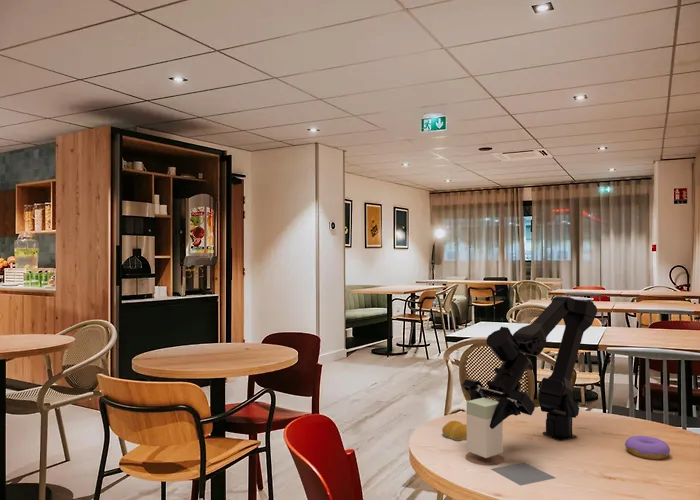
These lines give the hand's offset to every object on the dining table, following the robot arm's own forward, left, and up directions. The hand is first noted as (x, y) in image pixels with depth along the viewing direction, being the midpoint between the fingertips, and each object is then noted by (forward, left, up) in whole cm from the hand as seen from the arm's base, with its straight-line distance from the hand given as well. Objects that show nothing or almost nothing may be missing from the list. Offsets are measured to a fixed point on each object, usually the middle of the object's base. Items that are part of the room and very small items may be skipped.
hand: (480, 424), depth 134 cm
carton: (-1, 0, -7) cm, 7 cm away
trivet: (-1, 0, -9) cm, 9 cm away
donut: (-41, +13, -9) cm, 44 cm away
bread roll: (-6, -18, -9) cm, 21 cm away
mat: (-3, +11, -9) cm, 14 cm away
